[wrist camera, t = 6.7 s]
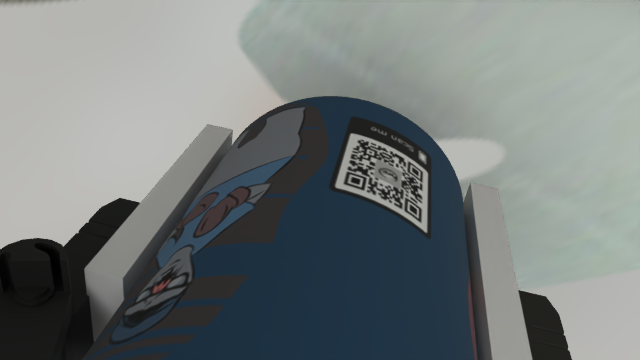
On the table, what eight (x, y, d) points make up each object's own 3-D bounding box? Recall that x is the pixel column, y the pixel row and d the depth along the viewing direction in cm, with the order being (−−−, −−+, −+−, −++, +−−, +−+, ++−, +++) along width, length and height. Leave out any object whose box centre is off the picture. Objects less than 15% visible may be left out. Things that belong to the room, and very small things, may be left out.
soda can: (387, 306, 18) (332, 850, 8) (204, 216, 18) (-94, 682, 8) (511, 152, 15) (685, 783, 5) (287, 33, 14) (-71, 455, 4)
